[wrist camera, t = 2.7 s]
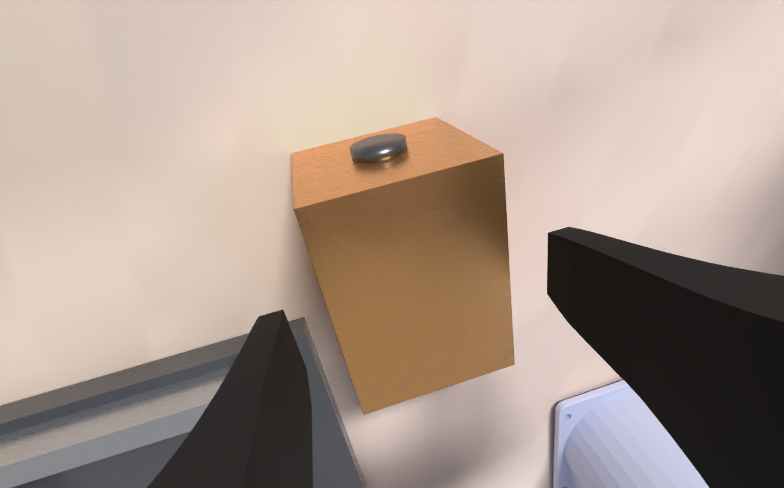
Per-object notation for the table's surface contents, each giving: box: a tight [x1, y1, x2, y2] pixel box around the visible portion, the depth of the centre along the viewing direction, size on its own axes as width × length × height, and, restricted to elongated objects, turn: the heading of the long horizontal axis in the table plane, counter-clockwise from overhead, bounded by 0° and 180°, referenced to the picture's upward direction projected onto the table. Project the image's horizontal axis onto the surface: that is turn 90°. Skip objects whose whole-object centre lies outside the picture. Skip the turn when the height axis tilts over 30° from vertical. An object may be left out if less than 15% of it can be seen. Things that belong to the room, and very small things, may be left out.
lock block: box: [291, 117, 514, 415], centre depth 13 cm, size 7×5×5 cm
